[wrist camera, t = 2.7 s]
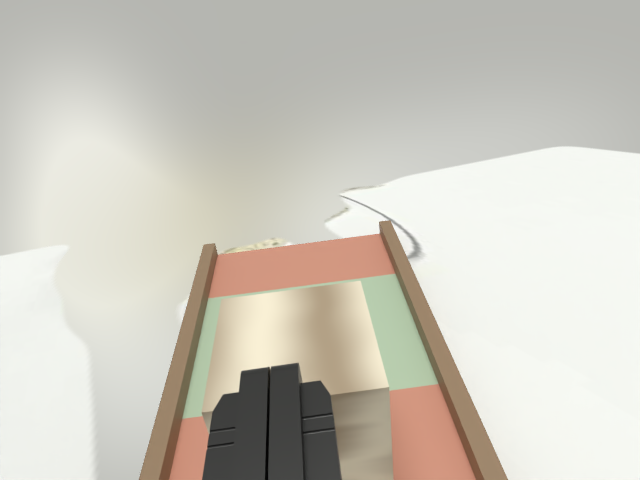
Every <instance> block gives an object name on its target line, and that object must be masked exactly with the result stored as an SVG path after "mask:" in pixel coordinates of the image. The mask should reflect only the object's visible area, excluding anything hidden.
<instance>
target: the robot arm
mask: <svg viewBox="0 0 640 480" xmlns="http://www.w3.org/2000/svg"><path fill="white" fill-rule="evenodd" d="M202 480H342V475H341V467H340V459H339V451H338V443H337V435H336V428H335V422H334V415H333V408H332V401H331V395H330V393H329V392H328V390H327V389H326V387H325V386H324V385H323V383H322V382H321V380H319V381H312V382H305V383H303V382H302V376H301V371H300V366H299V363H292V364H285V365H278V366H271V369H270V367H264V368H257V369H250V370H243V371H241V375H240V385H239V392H236V393H229V394H223V395H222V397H221V398H220V400H219V402H218V403H217V405H216V407H215V408H214V410H213V412H212V418H211V424H210V434H209V437H208V444H207V450H206V457H205V463H204V470H203V476H202Z"/></svg>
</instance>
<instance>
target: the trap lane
mask: <svg viewBox="0 0 640 480" xmlns="http://www.w3.org/2000/svg"><path fill="white" fill-rule="evenodd" d="M379 227H380V234H374V235H367V236H359V237H351V238H344V239H336V240H329V241H321V242H314V243H306V244H298V245H290V246H283V247H275V248H267V249H260V250H252V251H245V252H237V253H229V254H222V255H218V254H217V250H216V246H215V244H206V245H204V246H203V249H202V253H201V256H200V260H199V264H198V267H197V271H196V275H195V278H194V282H193V286H192V289H191V293H190V296H189V300H188V304H187V307H186V311H185V314H184V318H183V322H182V325H181V329H180V332H179V336H178V340H177V343H176V347H175V351H174V354H173V358H172V361H171V365H170V369H169V372H168V376H167V380H166V383H165V387H164V391H163V394H162V398H161V401H160V405H159V409H158V412H157V416H156V419H155V423H154V427H153V430H152V434H151V438H150V441H149V445H148V449H147V452H146V456H145V459H144V463H143V467H142V470H141V474H140V478H139V480H202V476H203V470H204V463H205V457H206V450H207V444H208V437H209V433H208V430H207V427H206V424H205V421H204V419H203V416H202V413H201V412H202V407H203V401H204V395H205V390H206V384H207V378H208V372H209V367H210V361H211V355H212V350H213V344H214V338H215V333H216V327H217V321H218V316H219V310H220V304H221V299H226V298H233V297H241V296H249V295H256V294H264V293H271V292H279V291H286V290H294V289H301V288H309V287H317V286H324V285H332V284H339V283H347V282H354V281H361V284H362V288H363V291H364V295H365V299H366V303H367V306H368V310H369V314H370V317H371V321H372V325H373V329H374V332H375V336H376V340H377V343H378V347H379V351H380V355H381V358H382V362H383V366H384V370H385V373H386V377H387V381H388V384H389V394H390V415H391V436H392V457H393V479H394V480H508V479H507V476H506V474H505V472H504V470H503V468H502V465H501V463H500V461H499V459H498V457H497V454H496V452H495V450H494V448H493V446H492V443H491V441H490V439H489V437H488V435H487V432H486V430H485V428H484V426H483V424H482V421H481V419H480V417H479V415H478V413H477V410H476V408H475V406H474V404H473V402H472V399H471V397H470V395H469V393H468V391H467V388H466V386H465V384H464V382H463V380H462V377H461V375H460V373H459V371H458V369H457V366H456V364H455V362H454V360H453V358H452V355H451V353H450V351H449V349H448V347H447V344H446V342H445V340H444V338H443V336H442V333H441V331H440V329H439V327H438V325H437V322H436V320H435V318H434V316H433V314H432V311H431V309H430V307H429V305H428V303H427V300H426V298H425V296H424V294H423V292H422V289H421V287H420V285H419V283H418V281H417V278H416V276H415V274H414V272H413V270H412V267H411V265H410V263H409V261H408V259H407V256H406V254H405V252H404V250H403V248H402V245H401V243H400V241H399V239H398V237H397V234H396V232H395V230H394V228H393V226H392V223H391V221H390V220H389V221H381V222H379Z"/></svg>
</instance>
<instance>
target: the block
mask: <svg viewBox="0 0 640 480" xmlns="http://www.w3.org/2000/svg"><path fill="white" fill-rule="evenodd" d="M292 363H299V366H300V371H301V376H302V382H303V383H305V382H312V381H319V380H321V382H322V383H323V385H324V386H325V387H326V389H327V390H328V392H329V393H330V395H331V401H332V408H333V415H334V422H335V428H336V435H337V443H338V451H339V459H340V467H341V475H342V480H394V479H393V457H392V436H391V415H390V394H389V384H388V381H387V377H386V373H385V370H384V366H383V362H382V358H381V355H380V351H379V347H378V343H377V340H376V336H375V332H374V329H373V325H372V321H371V317H370V314H369V310H368V306H367V303H366V299H365V295H364V291H363V288H362V284H361V281H354V282H347V283H339V284H332V285H324V286H317V287H309V288H301V289H294V290H286V291H279V292H271V293H264V294H256V295H249V296H241V297H233V298H226V299H221V304H220V310H219V316H218V321H217V327H216V333H215V338H214V344H213V350H212V355H211V361H210V367H209V372H208V378H207V384H206V390H205V395H204V401H203V407H202V412H201V413H202V416H203V419H204V421H205V424H206V427H207V430H208V433H209V434H210V424H211V418H212V412H213V410H214V408H215V407H216V405H217V403H218V402H219V400H220V398H221V397H222V395H223V394H229V393H236V392H239V385H240V375H241V371H243V370H250V369H257V368H264V367H270V369H271V366H278V365H285V364H292Z"/></svg>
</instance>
